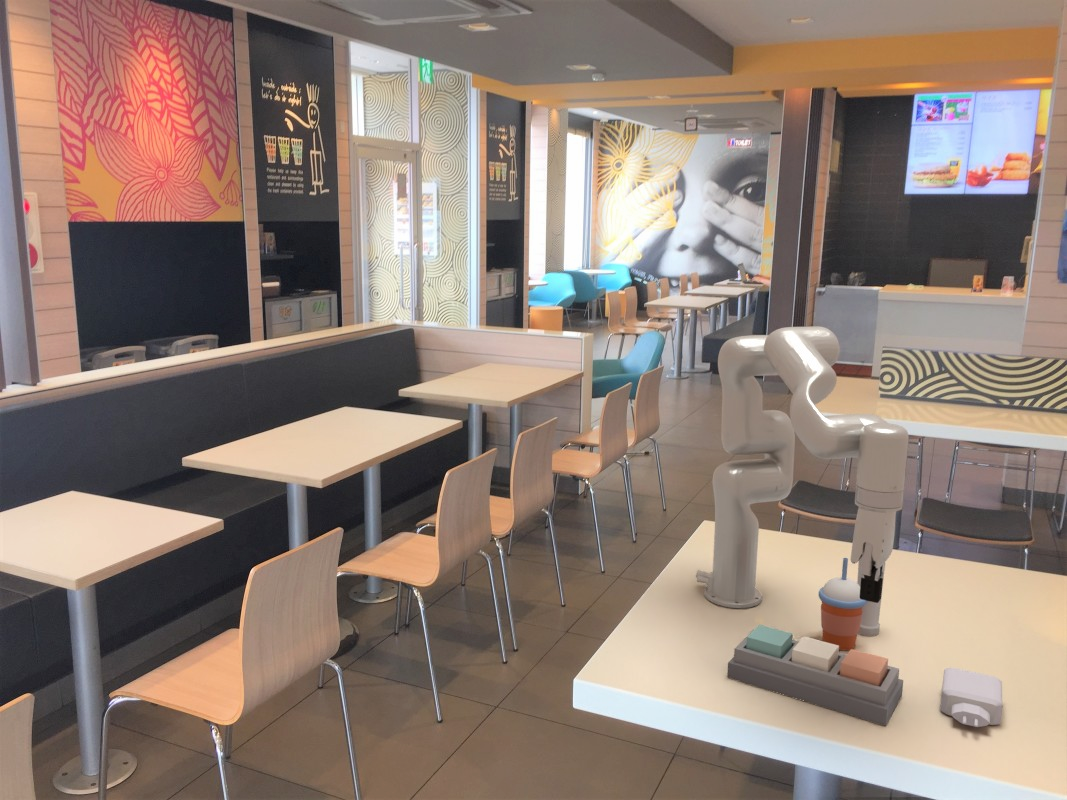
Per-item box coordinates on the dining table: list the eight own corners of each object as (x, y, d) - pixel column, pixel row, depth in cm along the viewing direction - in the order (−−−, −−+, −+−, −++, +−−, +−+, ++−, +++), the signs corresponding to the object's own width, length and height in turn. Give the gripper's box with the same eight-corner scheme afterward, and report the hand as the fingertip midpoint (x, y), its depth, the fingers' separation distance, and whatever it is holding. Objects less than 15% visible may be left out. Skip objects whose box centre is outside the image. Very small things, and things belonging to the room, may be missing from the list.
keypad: (727, 677, 162) (728, 649, 161) (750, 652, 172) (752, 626, 171) (885, 726, 147) (888, 695, 146) (902, 695, 157) (904, 667, 155)
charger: (937, 731, 146) (941, 690, 159) (1000, 746, 142) (999, 702, 155) (940, 704, 145) (944, 665, 158) (1003, 719, 141) (1002, 677, 154)
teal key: (746, 652, 162) (746, 637, 162) (758, 639, 168) (759, 624, 167) (780, 661, 159) (781, 646, 158) (791, 648, 164) (792, 633, 164)
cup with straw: (862, 637, 179) (869, 553, 176) (863, 657, 171) (871, 569, 167) (815, 630, 182) (821, 547, 178) (814, 649, 173) (820, 563, 170)
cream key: (791, 665, 158) (792, 649, 157) (802, 651, 163) (803, 636, 162) (827, 675, 154) (828, 659, 154) (837, 660, 159) (839, 645, 159)
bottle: (881, 637, 179) (892, 520, 174) (854, 635, 180) (864, 518, 175) (876, 626, 184) (887, 512, 179) (850, 624, 185) (860, 510, 180)
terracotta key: (839, 678, 153) (840, 662, 152) (849, 664, 158) (850, 648, 158) (877, 689, 149) (879, 673, 149) (886, 674, 155) (888, 658, 154)
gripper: (867, 483, 156) (859, 580, 159) (843, 504, 144) (835, 609, 147) (912, 490, 152) (903, 590, 155) (891, 512, 139) (882, 620, 143)
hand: (870, 599), depth 151 cm, fingers closed
